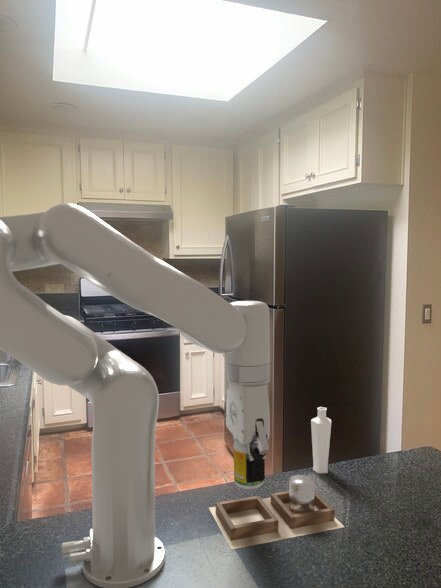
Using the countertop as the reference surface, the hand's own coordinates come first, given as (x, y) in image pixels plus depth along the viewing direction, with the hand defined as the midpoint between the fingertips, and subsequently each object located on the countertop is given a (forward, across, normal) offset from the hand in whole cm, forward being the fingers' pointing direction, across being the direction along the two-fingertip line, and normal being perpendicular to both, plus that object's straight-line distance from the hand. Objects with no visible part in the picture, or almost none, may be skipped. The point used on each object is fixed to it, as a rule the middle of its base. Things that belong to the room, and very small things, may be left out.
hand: (248, 472), depth 79 cm
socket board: (+10, 0, +5) cm, 11 cm away
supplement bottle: (+2, 0, 0) cm, 2 cm away
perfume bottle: (+11, -14, +23) cm, 29 cm away
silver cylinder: (+9, 0, +10) cm, 14 cm away
